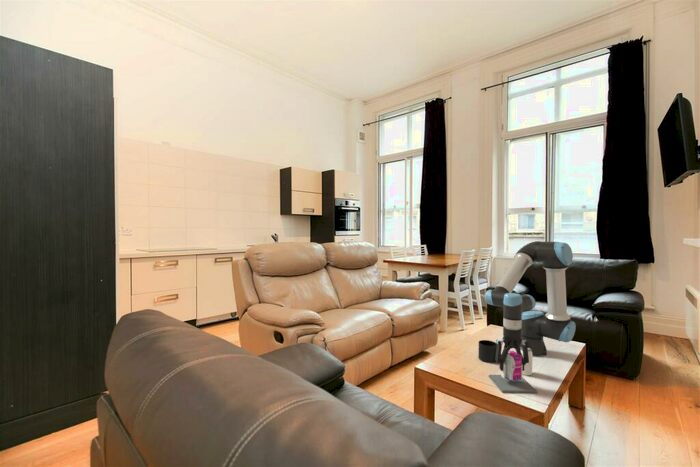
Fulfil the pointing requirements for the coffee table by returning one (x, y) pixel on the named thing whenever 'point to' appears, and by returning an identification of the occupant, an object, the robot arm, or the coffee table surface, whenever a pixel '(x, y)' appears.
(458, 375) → the coffee table surface
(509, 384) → the mat
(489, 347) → the mug
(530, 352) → the can
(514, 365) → the supplement box
